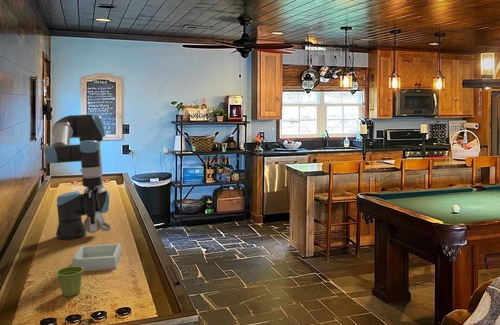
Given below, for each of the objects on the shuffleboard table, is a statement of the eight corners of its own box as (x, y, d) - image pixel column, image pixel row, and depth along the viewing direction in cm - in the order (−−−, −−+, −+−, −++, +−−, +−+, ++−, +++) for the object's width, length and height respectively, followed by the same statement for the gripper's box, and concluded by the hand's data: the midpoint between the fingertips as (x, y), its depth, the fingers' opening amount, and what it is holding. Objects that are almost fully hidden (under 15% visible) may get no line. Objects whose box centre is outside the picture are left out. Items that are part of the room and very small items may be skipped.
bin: (82, 257, 211) (81, 246, 211) (121, 253, 214) (120, 243, 213) (72, 272, 191) (71, 260, 191) (115, 268, 194) (115, 257, 193)
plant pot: (88, 288, 173) (86, 265, 172) (80, 298, 164) (78, 274, 163) (63, 289, 173) (61, 266, 172) (53, 299, 164) (51, 275, 163)
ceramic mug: (83, 234, 196) (81, 216, 196) (87, 229, 204) (86, 212, 204) (108, 232, 198) (107, 215, 197) (112, 228, 206) (111, 211, 205)
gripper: (87, 173, 208) (90, 223, 211) (77, 180, 187) (81, 235, 190) (104, 172, 209) (108, 222, 212) (96, 179, 188) (100, 234, 191)
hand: (95, 228), depth 201 cm, fingers closed on ceramic mug, 8 cm apart
